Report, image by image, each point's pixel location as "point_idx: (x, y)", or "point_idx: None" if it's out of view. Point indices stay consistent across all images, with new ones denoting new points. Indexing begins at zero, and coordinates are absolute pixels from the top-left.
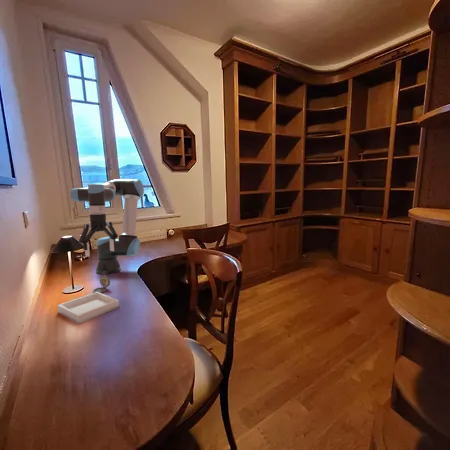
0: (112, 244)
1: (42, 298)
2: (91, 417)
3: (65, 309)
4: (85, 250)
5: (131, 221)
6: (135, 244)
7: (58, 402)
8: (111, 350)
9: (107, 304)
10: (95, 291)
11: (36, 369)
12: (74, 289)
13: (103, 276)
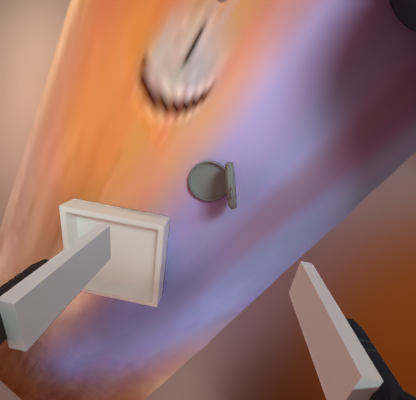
0: (309, 348)
1: (79, 50)
2: (25, 386)
3: (63, 241)
4: (68, 252)
5: None
6: None
7: (11, 360)
8: (77, 355)
9: (129, 301)
10: (198, 171)
11: None
12: (180, 74)
13: (227, 190)
